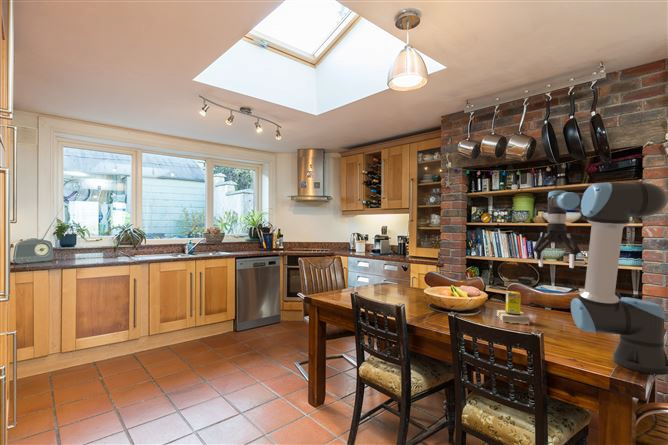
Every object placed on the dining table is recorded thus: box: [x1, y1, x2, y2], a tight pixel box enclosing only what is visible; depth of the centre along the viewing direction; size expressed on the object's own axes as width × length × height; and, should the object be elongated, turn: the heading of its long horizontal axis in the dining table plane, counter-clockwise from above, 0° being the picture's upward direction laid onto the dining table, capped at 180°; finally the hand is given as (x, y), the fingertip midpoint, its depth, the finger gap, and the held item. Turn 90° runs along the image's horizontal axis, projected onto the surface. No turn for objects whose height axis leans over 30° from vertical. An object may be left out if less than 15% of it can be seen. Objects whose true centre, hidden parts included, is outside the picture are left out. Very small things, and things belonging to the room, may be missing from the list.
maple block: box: [496, 309, 531, 326], centre depth 175 cm, size 12×12×4 cm
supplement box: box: [505, 290, 522, 316], centre depth 175 cm, size 6×6×11 cm
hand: (556, 267), depth 164 cm, fingers open, 13 cm apart
